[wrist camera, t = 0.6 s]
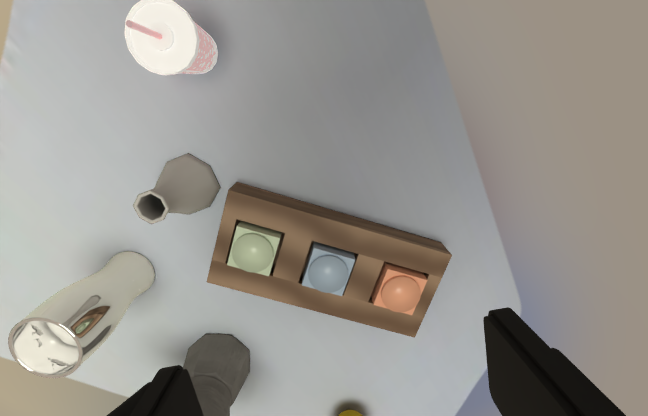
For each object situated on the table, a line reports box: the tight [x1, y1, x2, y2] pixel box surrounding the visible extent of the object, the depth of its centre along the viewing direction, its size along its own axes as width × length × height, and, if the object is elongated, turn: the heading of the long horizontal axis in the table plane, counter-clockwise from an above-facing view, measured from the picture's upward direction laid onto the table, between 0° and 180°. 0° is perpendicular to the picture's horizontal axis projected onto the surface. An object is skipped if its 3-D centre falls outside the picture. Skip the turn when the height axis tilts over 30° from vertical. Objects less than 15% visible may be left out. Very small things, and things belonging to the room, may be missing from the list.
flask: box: [133, 153, 220, 224], centre depth 38 cm, size 7×7×10 cm
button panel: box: [207, 182, 452, 337], centre depth 43 cm, size 12×27×4 cm, turn 73°
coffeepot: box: [107, 334, 250, 416], centre depth 41 cm, size 15×9×18 cm, turn 64°
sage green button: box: [227, 221, 282, 276], centre depth 40 cm, size 5×5×3 cm
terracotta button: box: [371, 261, 427, 315], centre depth 42 cm, size 5×5×3 cm
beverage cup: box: [124, 0, 218, 75], centre depth 31 cm, size 6×6×14 cm
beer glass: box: [8, 251, 155, 378], centre depth 39 cm, size 7×7×15 cm
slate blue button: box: [302, 241, 355, 296], centre depth 41 cm, size 5×5×3 cm
